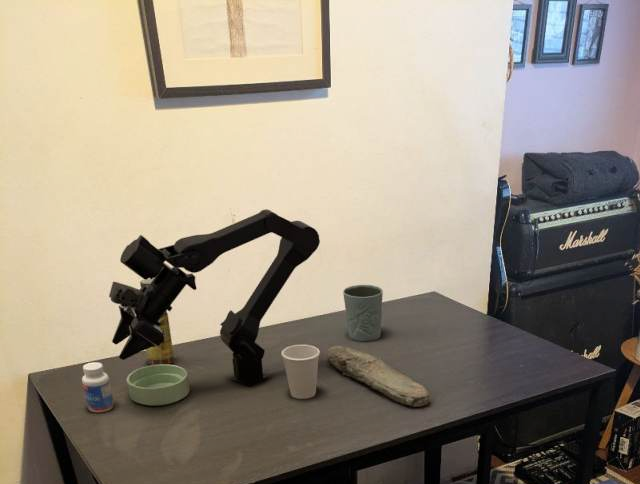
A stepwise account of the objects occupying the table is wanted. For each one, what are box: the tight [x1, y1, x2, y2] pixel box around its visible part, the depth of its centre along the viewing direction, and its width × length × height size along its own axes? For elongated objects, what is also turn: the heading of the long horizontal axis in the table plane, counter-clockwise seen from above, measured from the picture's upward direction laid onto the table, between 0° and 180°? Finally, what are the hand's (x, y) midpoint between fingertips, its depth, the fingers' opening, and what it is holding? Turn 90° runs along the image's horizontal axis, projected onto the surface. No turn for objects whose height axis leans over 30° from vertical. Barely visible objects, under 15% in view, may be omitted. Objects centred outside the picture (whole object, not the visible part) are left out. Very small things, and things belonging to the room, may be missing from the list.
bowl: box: [126, 364, 191, 407], centre depth 172 cm, size 13×13×4 cm
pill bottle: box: [81, 361, 115, 413], centre depth 165 cm, size 6×5×10 cm
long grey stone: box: [326, 345, 430, 408], centre depth 178 cm, size 35×5×10 cm
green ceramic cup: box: [342, 284, 384, 342], centre depth 200 cm, size 10×10×12 cm
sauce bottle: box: [139, 278, 174, 366], centre depth 182 cm, size 7×6×20 cm
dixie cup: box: [281, 344, 321, 400], centre depth 171 cm, size 8×8×10 cm
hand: (117, 350), depth 163 cm, fingers open, 9 cm apart
